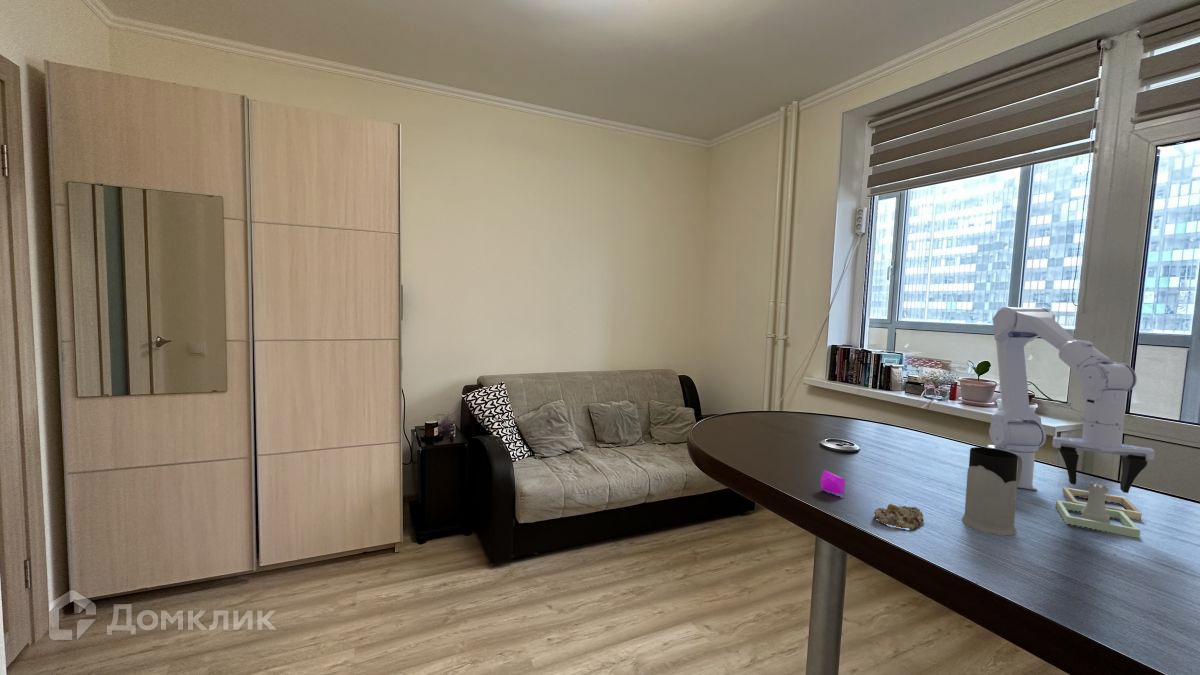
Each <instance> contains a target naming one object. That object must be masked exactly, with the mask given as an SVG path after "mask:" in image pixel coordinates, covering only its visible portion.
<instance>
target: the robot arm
mask: <svg viewBox="0 0 1200 675" xmlns="http://www.w3.org/2000/svg"><path fill="white" fill-rule="evenodd" d="M992 326H993V336H994V341H995V342H996V343H995V344H996V354H997V367H998V376H999V379H998V380H999V389H1000V390H999V391H1000V401H1001V409H1000V410H998V411H997V412H995V413H994V414H992V415H991V416H990V426H989V430H988V434H989V438H990V440H991V441H992V443H993V444H987V445H986V448H993V449H999V450H1004V451H1008V452H1011V453H1013V454H1016V455H1019V456H1020V457H1021V458H1022V473H1021V478H1020V481H1019V484H1018V487H1017V488H1018V489H1019V488H1020V489H1026V490H1032V491H1037V490H1038V488H1037V486H1036V484H1035V482H1034V468H1035V456H1036V452H1039V448H1040V447H1043V446H1044V444H1045V443H1046V439H1047V434H1046V431H1045V428H1044V426H1043V424H1042V419H1041V416H1039V415H1038V414H1037V413H1036V412H1034V411H1032V409H1030V399H1029V388H1028V378H1027V377H1028V376H1027V368H1026V367H1027V366H1026V357H1025V346H1026V345H1027V344H1028V343H1030V342H1032V341H1034V340H1035V339H1037V338H1038V337H1040V338H1041V339H1043V340H1044V341H1046V342H1047V343H1049V344H1050V345H1051V346H1052V347H1054V348H1055V349H1057V350H1058V357H1059V359H1060V360H1061V361H1062V362H1064V364H1066V365H1067V367H1069V368H1070V369H1071V370H1073V372H1075V373H1076V374H1077V375H1078V376H1077V377H1078V378H1077V379H1078V382H1079V385H1080V387H1081V390H1082V392H1081V393H1082V394H1081V395H1082V397H1083V398H1084V399H1085V400H1084V409H1083V410H1084V412H1083V423H1082V424H1083V425H1082V435H1081V438H1077V437H1075V438H1074V437H1059V436H1052V442H1051V444H1052V446H1053V447H1052V448H1055V449H1056V448H1057V449H1058V450H1059V453H1060V455H1061V457H1062V459H1063V462H1064V464H1065V467H1066V471H1067V475H1068V482H1069V483H1070V485H1074V486H1076V485H1077V468H1078V461H1079V456H1080V455H1079V454H1078V451H1077V450H1079V451H1085V452H1094V453H1102V454H1109V455H1116V456H1117V455H1118V456H1121V467H1122V468H1121V478H1120V485H1119V490H1121V492H1122V493H1126V494H1129V491H1130V489H1131V486H1132V484H1133V483H1134V481H1135V480H1136V478H1137V477H1138V475H1139V474H1140V473H1141V472H1142V471H1143V470H1144V469H1145V468H1147V465H1148V460H1150V461H1154V460H1155V450H1154V449H1153V448H1152V447H1144V446H1143V447H1142V446H1137V445H1131V444H1130V445H1129V444H1125V443H1124V444H1123V434H1124V424H1125V423H1124V422H1125V413H1126V412H1125V410H1126V402H1127V399H1126V398H1127V392H1130V391H1131V390H1133V389H1134V388H1135V386H1136V385H1137V379H1138V378H1137V374H1136V371H1135V370H1134V369H1133V368H1132V367H1131V365H1129V364H1128V363H1126V362H1125V363H1124V362H1117V361H1115V360H1113V361H1112V360H1111V358H1110V357H1109V356H1108V355H1106V354H1103V353H1102V352H1101V351H1100V350H1098V349H1097V348H1096V347H1094V346H1095V345H1094V343H1093V342H1092V341H1091V340H1090V341H1089V340H1083V339H1075V338H1074V337H1073V336H1072V335H1071V334H1070V333H1069V332H1068V331H1067V330H1066V329H1065V328H1064V327H1063V326H1061V325H1060V324H1059V323H1058V322H1057V321H1056V314H1055V313H1054V312H1051V311H1050V310H1049V308H1046V307H1044V306H1041V307H1013V306H1012V307H1010V306H1002V307H1000V308H999V309H998V311H996V313H995V314H994V316H993V317H992ZM1014 420H1016V421H1014ZM1017 420H1018V421H1017ZM1017 469H1018V462H1017Z"/></svg>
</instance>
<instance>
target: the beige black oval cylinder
mask: <svg viewBox="0 0 1200 675" xmlns="http://www.w3.org/2000/svg"><path fill="white" fill-rule="evenodd" d="M968 459H969V460H968V468H967V473H966V486H965V487H966V488H965V489H966V491H965V503H964V515H963V516H962V517H961V522H962V523H963V524H964V525H966V526H967V527H969V528H971V529H974V530H976V531H979V532H982V531H983V532H982V533H986V532H987V534H990V533H993V534H992V535H995V534H1000V535H999V536H1003V535H1009V536H1014V535H1016V534H1017V532H1016V531H1017V528H1016V527H1015V515H1016V502H1017V490H1018V488H1019V487H1018V484H1019V481H1020V478H1021V473H1022V458H1021V457H1020V456H1019V455H1016V454H1013V453H1011V452H1008V451H1004V450H999V449H993V448H987V447H982V446H981V447H980V446H975V447H971V448H969V458H968ZM1017 462H1018V469H1017ZM1015 533H1016V534H1015ZM1013 534H1014V535H1013Z"/></svg>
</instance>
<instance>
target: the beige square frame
mask: <svg viewBox="0 0 1200 675" xmlns="http://www.w3.org/2000/svg"><path fill="white" fill-rule="evenodd" d="M1087 493H1089V490H1083V489H1078V488H1077V489H1076V488H1070V487H1066V486H1063V487H1062V495H1063V494H1064V495H1063V496H1064V498H1065V497H1066V498H1067V499H1066V498H1065V499H1066V501H1067V500H1068V501H1069V502H1071V503H1077V504H1082V505H1087V502H1083V501H1078V500H1077V499H1076V497H1074V496H1081V497H1087V498H1088V497H1089V495H1088V494H1087ZM1073 495H1074V496H1073ZM1105 496H1106V499H1105V501H1110V502H1115V503H1114V504H1116V503H1121V504H1120V505H1123V506H1124V507H1125V508H1126V509H1127V510H1126V509H1125V508H1124V507H1123V506H1122V507H1123V508H1118V507H1112V506H1108V505H1107V506H1106V505H1105V509H1111V510H1117V511H1123V512H1124V513H1125V514H1126V515H1127V516H1128V518H1132V519H1131V520H1134V519H1136V521H1142V516H1143V515H1142V514H1143V513H1142V512H1141V511H1140V510H1139V509H1138V508H1137V507H1136V506H1135V505H1134V504H1133V503H1132V502H1131V501H1130V500H1129V499H1128V498H1127V497H1126V496H1121V495H1114V494H1108V493H1105ZM1068 501H1067V502H1068ZM1110 502H1109V503H1110Z"/></svg>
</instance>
